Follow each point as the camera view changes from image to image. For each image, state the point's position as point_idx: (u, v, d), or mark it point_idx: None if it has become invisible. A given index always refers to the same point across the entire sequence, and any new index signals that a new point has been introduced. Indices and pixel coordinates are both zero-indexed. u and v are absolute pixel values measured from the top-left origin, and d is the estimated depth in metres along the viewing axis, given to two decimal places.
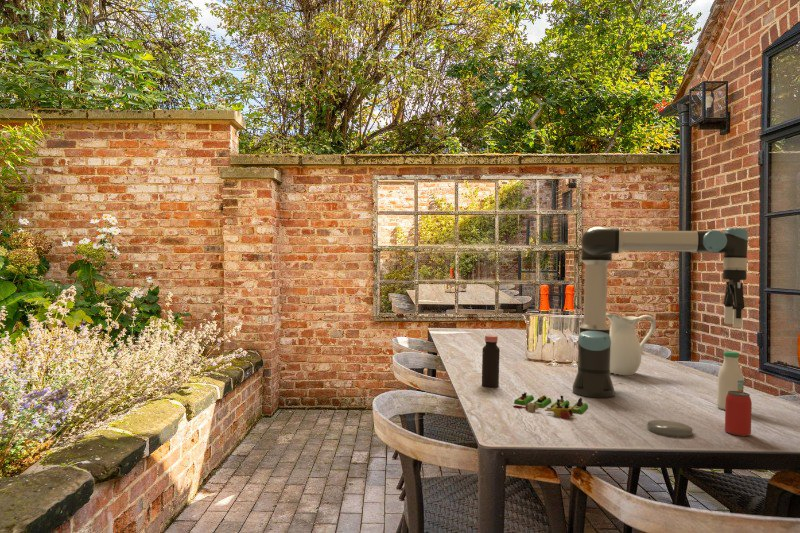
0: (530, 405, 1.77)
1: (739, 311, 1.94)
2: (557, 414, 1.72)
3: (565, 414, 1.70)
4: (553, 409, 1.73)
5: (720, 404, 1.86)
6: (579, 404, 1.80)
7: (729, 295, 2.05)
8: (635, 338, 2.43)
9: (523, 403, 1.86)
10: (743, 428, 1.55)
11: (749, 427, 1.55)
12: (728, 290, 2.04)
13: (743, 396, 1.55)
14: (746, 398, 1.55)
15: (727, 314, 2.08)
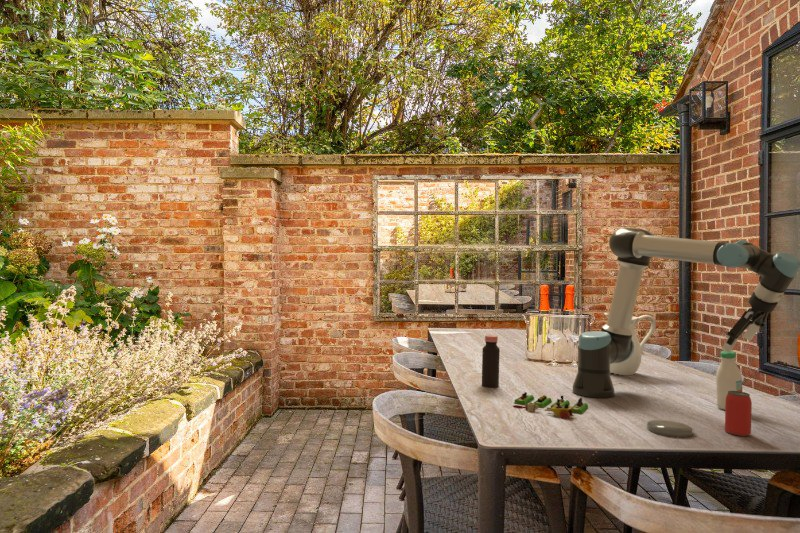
0: (530, 405, 1.77)
1: (731, 338, 1.80)
2: (557, 414, 1.72)
3: (565, 414, 1.70)
4: (553, 409, 1.73)
5: (720, 404, 1.86)
6: (579, 404, 1.80)
7: None
8: (635, 338, 2.43)
9: (523, 403, 1.86)
10: (743, 428, 1.55)
11: (749, 427, 1.55)
12: None
13: (743, 396, 1.55)
14: (746, 398, 1.55)
15: (749, 330, 1.89)
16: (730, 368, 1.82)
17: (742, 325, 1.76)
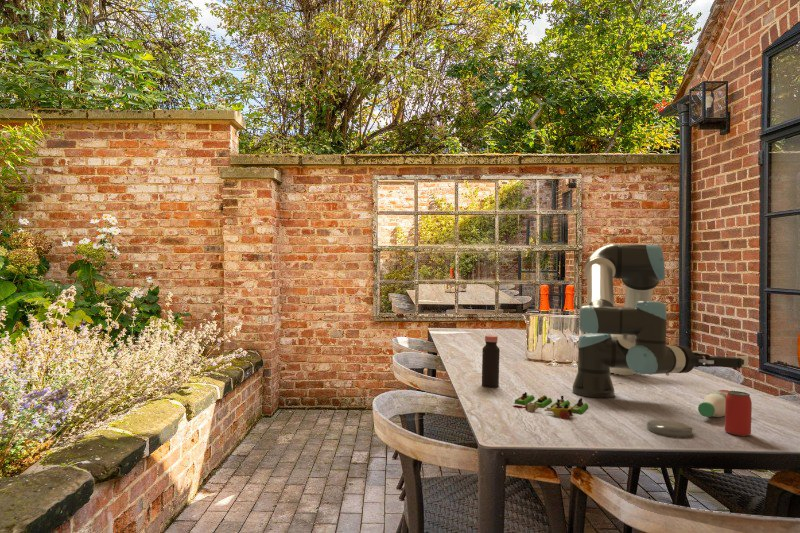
0: (530, 405, 1.78)
1: None
2: (556, 414, 1.72)
3: (564, 414, 1.70)
4: (552, 409, 1.73)
5: None
6: (579, 404, 1.80)
7: None
8: None
9: (523, 403, 1.86)
10: (743, 428, 1.55)
11: (749, 427, 1.55)
12: None
13: (743, 396, 1.55)
14: (746, 398, 1.55)
15: None
16: (714, 415, 1.74)
17: None
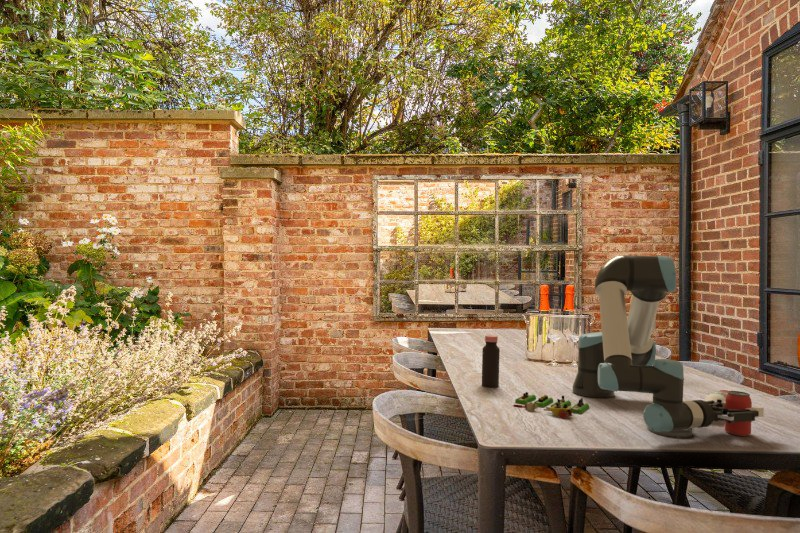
0: (529, 404, 1.78)
1: None
2: (555, 414, 1.72)
3: (563, 414, 1.70)
4: (551, 409, 1.73)
5: None
6: (579, 404, 1.80)
7: None
8: None
9: (524, 402, 1.87)
10: (743, 428, 1.55)
11: (749, 427, 1.55)
12: None
13: (743, 396, 1.55)
14: (746, 398, 1.55)
15: None
16: None
17: None
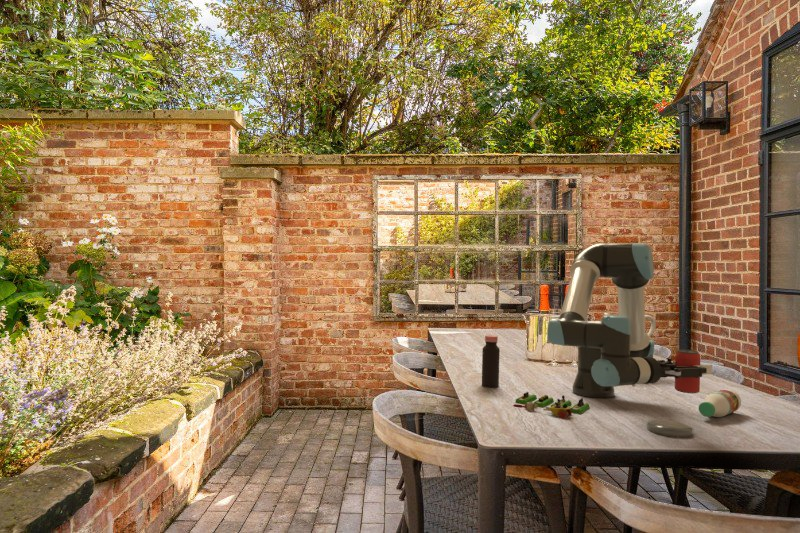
0: (529, 404, 1.78)
1: None
2: (555, 414, 1.72)
3: (562, 414, 1.70)
4: (551, 408, 1.73)
5: None
6: (579, 404, 1.80)
7: None
8: None
9: (524, 402, 1.87)
10: (691, 385, 1.55)
11: (698, 384, 1.56)
12: None
13: (692, 353, 1.56)
14: (694, 355, 1.56)
15: None
16: (714, 415, 1.74)
17: None
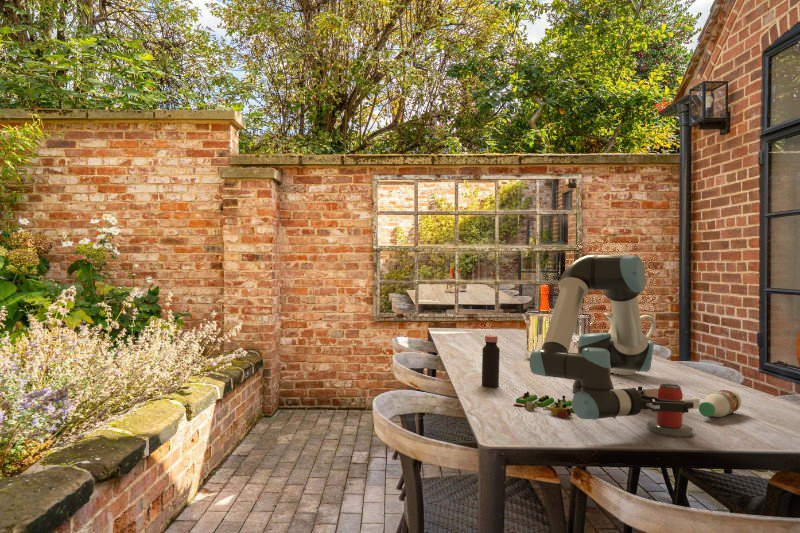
0: (529, 404, 1.79)
1: None
2: (554, 413, 1.73)
3: (562, 413, 1.70)
4: (550, 408, 1.74)
5: None
6: None
7: None
8: None
9: (524, 402, 1.87)
10: (673, 421, 1.56)
11: (679, 419, 1.56)
12: None
13: (673, 388, 1.56)
14: (676, 390, 1.56)
15: None
16: (714, 415, 1.74)
17: None
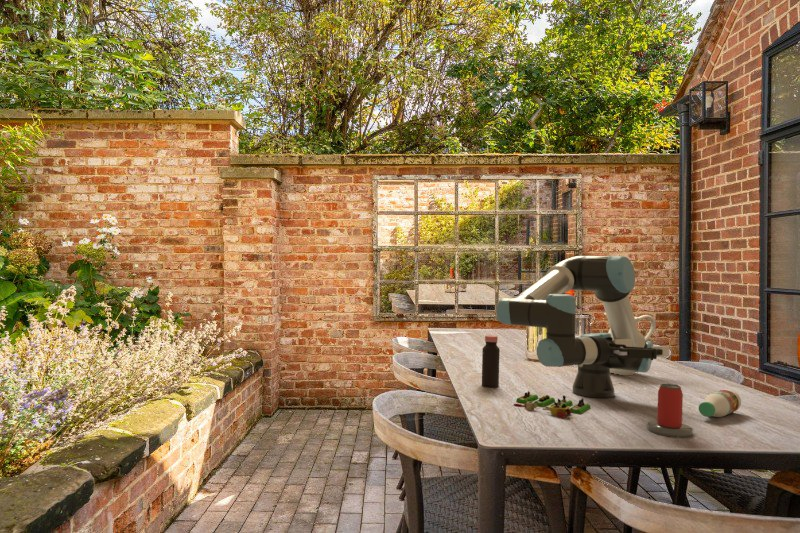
0: (528, 404, 1.79)
1: None
2: (554, 413, 1.73)
3: (561, 413, 1.70)
4: (550, 408, 1.74)
5: None
6: (580, 404, 1.80)
7: None
8: None
9: (524, 402, 1.88)
10: (673, 421, 1.56)
11: (679, 419, 1.56)
12: None
13: (674, 389, 1.56)
14: (676, 391, 1.56)
15: None
16: (714, 415, 1.74)
17: None
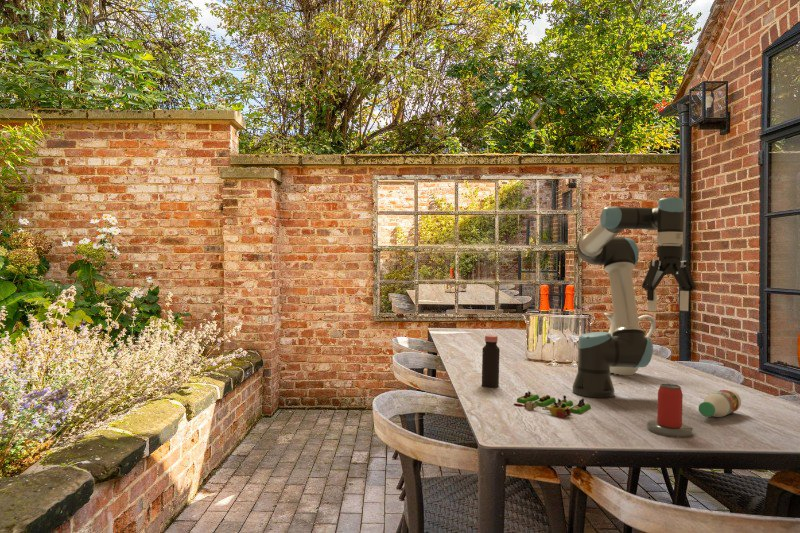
0: (528, 403, 1.79)
1: (649, 292, 1.71)
2: (553, 413, 1.73)
3: (560, 413, 1.71)
4: (549, 408, 1.74)
5: None
6: (580, 404, 1.80)
7: (675, 276, 1.76)
8: None
9: (525, 402, 1.88)
10: (673, 421, 1.56)
11: (679, 419, 1.56)
12: None
13: (673, 389, 1.56)
14: (676, 390, 1.56)
15: (682, 299, 1.76)
16: (714, 415, 1.74)
17: (652, 272, 1.70)
